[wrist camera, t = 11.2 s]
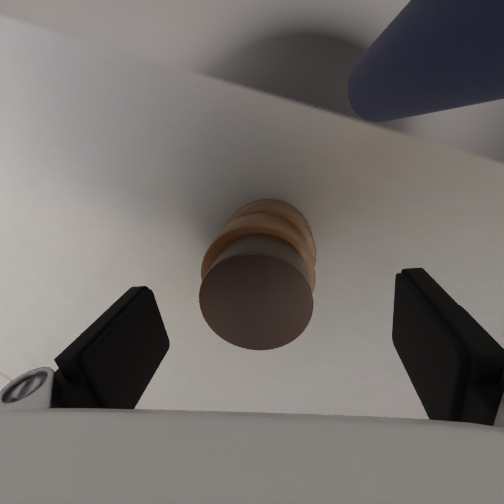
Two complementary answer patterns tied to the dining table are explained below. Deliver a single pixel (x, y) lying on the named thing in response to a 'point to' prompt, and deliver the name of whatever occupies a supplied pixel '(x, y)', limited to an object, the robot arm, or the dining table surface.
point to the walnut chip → (257, 292)
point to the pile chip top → (263, 225)
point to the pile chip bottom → (284, 212)
